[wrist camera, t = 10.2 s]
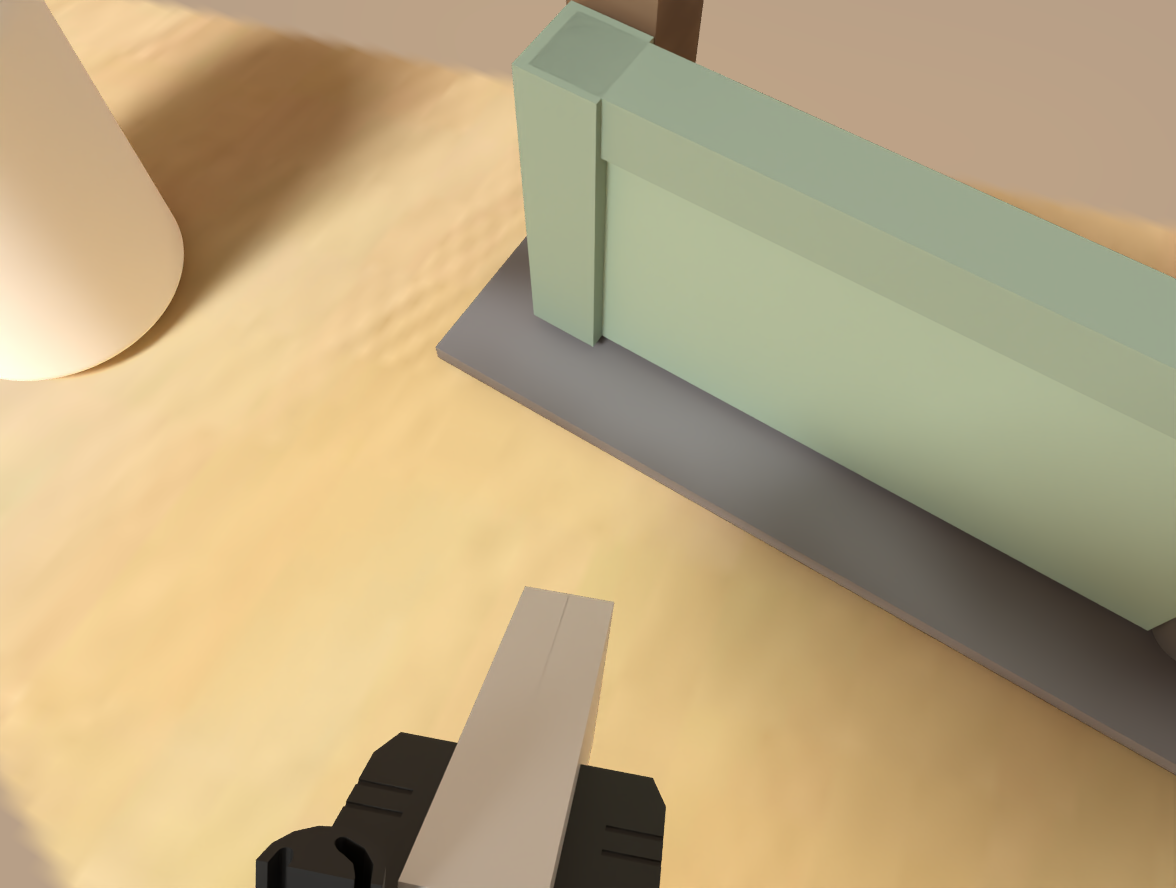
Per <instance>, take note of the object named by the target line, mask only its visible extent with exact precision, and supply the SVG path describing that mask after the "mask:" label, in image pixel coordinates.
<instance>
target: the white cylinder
mask: <svg viewBox="0 0 1176 888" xmlns="http://www.w3.org/2000/svg"><path fill="white" fill-rule="evenodd" d="M183 262H184V246H183V239H182V235H181V232H180V229H179V226H178V224H177V222H176V220H175V218H174V216H173V214H172V213H171V211H170V209H169V208H168V206H167V204H166V203H165V201H164V199H163V198H162V196H161V194H160V193H159V191H158V189H157V188H156V186H155V184H154V183H153V181H152V179H151V178H150V176H149V174H148V173H147V171H146V169H145V168H144V166H143V164H142V163H141V161H140V160H139V158H138V156H137V155H136V153H135V151H134V150H133V148H132V146H131V145H130V143H129V141H128V140H127V138H126V136H125V135H124V133H123V131H122V130H121V128H120V126H119V125H118V123H117V121H116V120H115V118H114V116H113V115H112V113H111V111H110V110H109V108H108V106H107V105H106V103H105V101H104V100H103V98H102V96H101V95H100V93H99V91H98V90H97V88H96V86H95V85H94V83H93V81H92V80H91V78H90V76H89V75H88V73H87V71H86V70H85V68H84V66H83V65H82V63H81V61H80V60H79V58H78V56H77V55H76V53H75V51H74V50H73V48H72V46H71V45H70V43H69V41H68V40H67V38H66V36H65V35H64V33H63V31H62V30H61V28H60V26H59V25H58V23H57V21H56V20H55V18H54V16H53V15H52V13H51V11H50V10H49V8H48V7H47V5H46V3H45V2H44V0H0V379H6V380H15V381H37V380H47V379H54V378H59V377H64V376H68V375H72V374H75V373H78V372H81V371H84V370H87V369H90V368H92V367H94V366H97V365H99V364H101V363H103V362H105V361H107V360H109V359H111V358H112V357H114V356H116V355H118V354H119V353H121V352H122V351H124V350H125V349H127V348H128V347H130V346H131V345H132V344H133V343H135V342H136V341H137V340H138V339H140V338H141V337H142V336H143V335H144V334H145V333H146V332H147V331H148V330H149V329H150V328H151V327H152V326H153V325H154V324H155V323H156V322H157V320H158V319H159V318H160V317H161V315H162V314H163V313H164V311H165V310H166V308H167V307H168V305H169V303H170V302H171V300H172V298H173V296H174V294H175V292H176V289H177V287H178V284H179V281H180V278H181V274H182V270H183Z"/></svg>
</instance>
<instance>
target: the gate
mask: <svg viewBox="0 0 1176 888" xmlns="http://www.w3.org/2000/svg"><path fill="white" fill-rule="evenodd" d="M653 42H654V37H653V36H650V35H648V34H646V33H644V32H641V31H639V30H637V29H635V28H632V27H630V26H628V25H626V24H623V23H621V22H619V21H617V20H615V19H612V18H610V17H608V16H606V15H603V14H601V13H599V12H597V11H594V10H592V9H590V8H588V7H585V6H583V5H581V4H579V3H576V2H574V1H572V0H571V1H570V2H569V3H568V4H567V5H566V6H565V7H564V8H563V10H562V11H561V12H560V13H559V14H558V15H557V16H556V17H555V18H554V20H552V21H551V22H550V23H549V25H548V26H547V27H546V28H545V29H544V30H543V31H542V32H541V33H540V34H539V35H538V37H536V39H535V40H534V41H533V42H532V43H531V44H530V45H529V46H528V47H527V48H526V49H525V50H524V51H523V52H522V53H521V55H520V56H519V57H518V58H517V59H516V60H515V61H514V62H513V63H512V74H513V85H514V96H515V108H516V119H517V130H518V141H519V153H520V164H521V175H522V186H523V198H524V209H525V220H526V231H527V243H528V254H529V265H530V276H531V288H532V299H533V310H534V315H536V316H537V317H539V318H541V319H543V320H545V321H547V322H548V323H550V324H552V325H554V326H556V327H558V328H559V329H561V330H563V331H565V332H567V333H569V334H570V335H572V336H574V337H576V338H578V339H580V340H581V341H583V342H585V343H587V344H589V345H590V346H592V347H594V345H595V344H596V343H597V341H598V340H599V339H600V337H601V336H604V337H606V338H608V339H610V340H611V341H613V342H615V343H617V344H619V345H621V346H622V347H624V348H626V349H628V350H630V351H632V352H634V353H635V354H637V355H639V356H641V357H643V358H645V359H646V360H648V361H650V362H652V363H654V364H656V365H658V366H659V367H661V368H663V369H665V370H667V371H669V372H671V373H672V374H674V375H676V376H678V377H680V378H682V379H683V380H685V381H687V382H689V383H691V384H693V385H695V386H696V387H698V388H700V389H702V390H704V391H706V392H707V393H709V394H711V395H713V396H715V397H717V398H719V399H720V400H722V401H724V402H726V403H728V404H730V405H731V406H733V407H735V408H737V409H739V410H741V411H743V412H744V413H746V414H748V415H750V416H752V417H754V418H755V419H757V420H759V421H761V422H763V423H765V424H767V425H768V426H770V427H772V428H774V429H776V430H778V431H780V432H781V433H783V434H785V435H787V436H789V437H791V438H792V439H794V440H796V441H798V442H800V443H802V444H804V445H805V446H807V447H809V448H811V449H813V450H815V451H816V452H818V453H820V454H822V455H824V456H826V457H828V458H829V459H831V460H833V461H835V462H837V463H839V464H840V465H842V466H844V467H846V468H848V469H850V470H852V471H853V472H855V473H857V474H859V475H861V476H863V477H864V478H866V479H868V480H870V481H872V482H874V483H876V484H877V485H879V486H881V487H883V488H885V489H887V490H889V491H890V492H892V493H894V494H896V495H898V496H900V497H901V498H903V499H905V500H907V501H909V502H911V503H913V504H914V505H916V506H918V507H920V508H922V509H924V510H925V511H927V512H929V513H931V514H933V515H935V516H937V517H938V518H940V519H942V520H944V521H946V522H948V523H949V524H951V525H953V526H955V527H957V528H959V529H961V530H962V531H964V532H966V533H968V534H970V535H972V536H974V537H975V538H977V539H979V540H981V541H983V542H985V543H986V544H988V545H990V546H992V547H994V548H996V549H998V550H999V551H1001V552H1003V553H1005V554H1007V555H1009V556H1010V557H1012V558H1014V559H1016V560H1018V561H1020V562H1022V563H1023V564H1025V565H1027V566H1029V567H1031V568H1033V569H1034V570H1036V571H1038V572H1040V573H1042V574H1044V575H1046V576H1047V577H1049V578H1051V579H1053V580H1055V581H1057V582H1058V583H1060V584H1062V585H1064V586H1066V587H1068V588H1070V589H1071V590H1073V591H1075V592H1077V593H1079V594H1081V595H1083V596H1084V597H1086V598H1088V599H1090V600H1092V601H1094V602H1095V603H1097V604H1099V605H1101V606H1103V607H1105V608H1107V609H1108V610H1110V611H1112V612H1114V613H1116V614H1118V615H1119V616H1121V617H1123V618H1125V619H1127V620H1129V621H1131V622H1132V623H1134V624H1136V625H1138V626H1140V627H1142V628H1143V629H1145V630H1147V631H1148V630H1150V629H1152V632H1153V634H1154V637H1155V639H1156V640H1157V642H1158V644H1159V645H1160V647H1161V648H1162V649H1163V650H1164V651H1165V652H1166V653H1167V654H1168V655H1169V656H1170V657H1171V658H1172V659H1174V660H1175V661H1176V279H1175V278H1173V277H1171V276H1168V275H1166V274H1164V273H1162V272H1159V271H1157V270H1155V269H1153V268H1151V267H1148V266H1146V265H1144V264H1142V263H1139V262H1137V261H1135V260H1133V259H1130V258H1128V257H1126V256H1124V255H1122V254H1119V253H1117V252H1115V251H1113V250H1110V249H1108V248H1106V247H1104V246H1102V245H1099V244H1097V243H1095V242H1093V241H1090V240H1088V239H1086V238H1084V237H1081V236H1079V235H1077V234H1075V233H1073V232H1070V231H1068V230H1066V229H1064V228H1061V227H1059V226H1057V225H1055V224H1053V223H1050V222H1048V221H1046V220H1044V219H1041V218H1039V217H1037V216H1035V215H1032V214H1030V213H1028V212H1026V211H1024V210H1021V209H1019V208H1017V207H1015V206H1012V205H1010V204H1008V203H1006V202H1004V201H1001V200H999V199H997V198H995V197H992V196H990V195H988V194H986V193H983V192H981V191H979V190H977V189H975V188H972V187H970V186H968V185H966V184H963V183H961V182H959V181H957V180H955V179H952V178H950V177H948V176H946V175H943V174H941V173H939V172H937V171H934V170H932V169H930V168H928V167H925V166H923V165H921V164H919V163H917V162H914V161H912V160H910V159H908V158H905V157H903V156H901V155H899V154H897V153H894V152H892V151H890V150H888V149H885V148H883V147H881V146H879V145H877V144H874V143H872V142H870V141H868V140H865V139H863V138H861V137H859V136H856V135H854V134H852V133H850V132H848V131H845V130H843V129H841V128H839V127H836V126H834V125H832V124H830V123H827V122H825V121H823V120H821V119H819V118H816V117H814V116H812V115H810V114H807V113H805V112H803V111H801V110H798V109H796V108H794V107H792V106H789V105H787V104H785V103H783V102H781V101H779V100H776V99H774V98H772V97H770V96H767V95H765V94H763V93H761V92H758V91H756V90H754V89H752V88H749V87H747V86H745V85H743V84H741V83H738V82H736V81H734V80H732V79H730V78H727V77H725V76H723V75H721V74H718V73H716V72H714V71H711V70H709V69H707V68H705V67H703V66H701V65H698V64H696V63H694V62H692V61H689V60H687V59H685V58H683V57H681V56H678V55H676V54H674V53H672V52H669V51H667V50H665V49H663V48H660V47H658V46H656V45H654V44H653Z"/></svg>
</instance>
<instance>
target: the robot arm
mask: <svg viewBox="0 0 1176 888" xmlns="http://www.w3.org/2000/svg"><path fill="white" fill-rule="evenodd" d="M613 606H614V602H611V601H605V600H600V599H594V598H589V597H583V596H577V595H572V594H566V593H560V592H555V591H549V590H543V589H538V588H532V587H526V586H525V588H524V590H523V593H522V595H521V597H520V599H519V602H518V604H517V606H516V609H515V611H514V613H513V616H512V618H511V620H510V623H509V625H508V627H507V630H506V632H505V634H504V637H503V639H502V641H501V644H500V646H499V648H498V650H497V653H496V655H495V657H494V660H493V662H492V664H491V667H490V669H489V671H488V674H487V676H486V678H485V681H484V683H483V685H482V688H481V690H480V692H479V695H478V697H477V699H476V702H475V704H474V706H473V708H472V711H471V713H470V715H469V718H468V720H467V722H466V725H465V727H464V729H463V732H462V734H461V736H460V739H459V741H458V743H455V742H450V741H445V740H439V739H434V738H429V737H424V736H419V735H413V734H408V733H403V732H401V733H399V734H398V735H396V736H395V737H394V738H392V739H391V740H390V741H388V742H387V743H386V744H384V745H383V746H382V747H380V748H379V749H378V750H376V751H375V752H374V753H373V754H372V756H371V758H370V760H369V762H368V763H367V765H366V767H365V769H364V771H363V772H362V774H361V776H360V778H359V781H358V784H356V785H355V787H354V788H353V790H352V792H351V794H350V795H349V797H348V799H347V801H346V805H345V807H344V806H343V808H342V810H341V812H340V813H339V815H338V817H337V819H336V820H335V822H334V824H333V826H332V827H331V826H316V827H311V828H307V829H302V830H298V831H294V832H292V833H290V834H288V835H286V836H284V837H282V838H281V839H279V840H277V841H275V842H273V843H272V844H271V845H270V846H269V847H268V848H267V849H266V850H265V851H264V852H263V853H262V854H261V855H260V856H259V857H258V858H257V859H256V888H659V886H660V873H661V861H662V848H663V836H664V823H665V811H666V806H665V804H664V802H663V799H662V797H661V795H660V793H659V791H658V788H657V786H656V784H655V782H654V780H653V778H650V777H645V776H640V775H635V774H629V773H624V772H619V771H614V770H609V769H603V768H598V767H593V766H588V763H589V758H590V753H591V748H592V743H593V738H594V731H595V725H596V718H597V712H598V705H599V698H600V692H601V685H602V679H603V672H604V665H605V659H606V652H607V646H608V639H609V632H610V626H611V619H612V613H613Z"/></svg>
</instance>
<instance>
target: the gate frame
mask: <svg viewBox="0 0 1176 888" xmlns="http://www.w3.org/2000/svg"><path fill="white" fill-rule="evenodd" d="M566 1H567V4H568V3H569V2H570V1H571V0H566ZM572 1H574V2H576V3H579V4H581V5H583V6H585V7H588V8H590V9H592V10H594V11H597V12H599V13H601V14H603V15H606V16H608V17H610V18H612V19H615V20H617V21H619V22H621V23H623V24H626V25H628V26H630V27H632V28H635V29H637V30H639V31H641V32H644V33H646V34H648V35H650V36H653V37H654V42H653V44H654V45H656V46H658V47H660V48H663V49H665V50H667V51H669V52H672V53H674V54H676V55H678V56H681V57H683V58H685V59H687V60H689V61H692V62H694V63H695V61H696V54H697V46H698V39H699V31H700V23H701V16H702V8H703V0H572ZM436 351H437V354H438V357H439V358H441V359H442V360H444V361H446V362H448V363H450V364H451V365H453V366H455V367H457V368H458V369H460V370H462V371H464V372H465V373H467V374H469V375H471V376H472V377H474V378H476V379H478V380H480V381H481V382H483V383H485V384H487V385H488V386H490V387H492V388H494V389H495V390H497V391H499V392H501V393H502V394H504V395H506V396H508V397H510V398H511V399H513V400H515V401H517V402H518V403H520V404H522V405H524V406H525V407H527V408H529V409H531V410H532V411H534V412H536V413H538V414H540V415H541V416H543V417H545V418H547V419H548V420H550V421H552V422H554V423H555V424H557V425H559V426H561V427H562V428H564V429H566V430H568V431H570V432H571V433H573V434H575V435H577V436H578V437H580V438H582V439H584V440H585V441H587V442H589V443H591V444H592V445H594V446H596V447H598V448H600V449H601V450H603V451H605V452H607V453H608V454H610V455H612V456H614V457H615V458H617V459H619V460H621V461H623V462H624V463H626V464H628V465H630V466H631V467H633V468H635V469H637V470H638V471H640V472H642V473H644V474H645V475H647V476H649V477H651V478H653V479H654V480H656V481H658V482H660V483H661V484H663V485H665V486H667V487H668V488H670V489H672V490H674V491H675V492H677V493H679V494H681V495H683V496H684V497H686V498H688V499H690V500H691V501H693V502H695V503H697V504H698V505H700V506H702V507H704V508H705V509H707V510H709V511H711V512H713V513H714V514H716V515H718V516H720V517H721V518H723V519H725V520H727V521H728V522H730V523H732V524H734V525H735V526H737V527H739V528H741V529H743V530H744V531H746V532H748V533H750V534H751V535H753V536H755V537H757V538H758V539H760V540H762V541H764V542H765V543H767V544H769V545H771V546H773V547H774V548H776V549H778V550H780V551H781V552H783V553H785V554H787V555H788V556H790V557H792V558H794V559H795V560H797V561H799V562H801V563H803V564H804V565H806V566H808V567H810V568H811V569H813V570H815V571H817V572H818V573H820V574H822V575H824V576H825V577H827V578H829V579H831V580H833V581H834V582H836V583H838V584H840V585H841V586H843V587H845V588H847V589H848V590H850V591H852V592H854V593H855V594H857V595H859V596H861V597H863V598H864V599H866V600H868V601H870V602H871V603H873V604H875V605H877V606H878V607H880V608H882V609H884V610H885V611H887V612H889V613H891V614H893V615H894V616H896V617H898V618H900V619H901V620H903V621H905V622H907V623H908V624H910V625H912V626H914V627H916V628H917V629H919V630H921V631H923V632H924V633H926V634H928V635H930V636H931V637H933V638H935V639H937V640H938V641H940V642H942V643H944V644H946V645H947V646H949V647H951V648H953V649H954V650H956V651H958V652H960V653H961V654H963V655H965V656H967V657H968V658H970V659H972V660H974V661H976V662H977V663H979V664H981V665H983V666H984V667H986V668H988V669H990V670H991V671H993V672H995V673H997V674H998V675H1000V676H1002V677H1004V678H1006V679H1007V680H1009V681H1011V682H1013V683H1014V684H1016V685H1018V686H1020V687H1021V688H1023V689H1025V690H1027V691H1028V692H1030V693H1032V694H1034V695H1036V696H1037V697H1039V698H1041V699H1043V700H1044V701H1046V702H1048V703H1050V704H1051V705H1053V706H1055V707H1057V708H1058V709H1060V710H1062V711H1064V712H1066V713H1067V714H1069V715H1071V716H1073V717H1074V718H1076V719H1078V720H1080V721H1081V722H1083V723H1085V724H1087V725H1088V726H1090V727H1092V728H1094V729H1096V730H1097V731H1099V732H1101V733H1103V734H1104V735H1106V736H1108V737H1110V738H1111V739H1113V740H1115V741H1117V742H1118V743H1120V744H1122V745H1124V746H1126V747H1127V748H1129V749H1131V750H1133V751H1134V752H1136V753H1138V754H1140V755H1141V756H1143V757H1145V758H1147V759H1148V760H1150V761H1152V762H1154V763H1156V764H1157V765H1159V766H1161V767H1163V768H1164V769H1166V770H1168V771H1170V772H1171V773H1173V774H1175V775H1176V661H1175V660H1174V659H1172V658H1171V657H1170V656H1169V655H1168V654H1167V653H1166V652H1165V651H1164V650H1163V649H1162V648H1161V647H1160V645H1159V644H1158V642H1157V640H1156V639H1155V637H1154V634H1153V632H1152V629H1150V630H1148V631H1147V630H1145V629H1143V628H1142V627H1140V626H1138V625H1136V624H1134V623H1132V622H1131V621H1129V620H1127V619H1125V618H1123V617H1121V616H1119V615H1118V614H1116V613H1114V612H1112V611H1110V610H1108V609H1107V608H1105V607H1103V606H1101V605H1099V604H1097V603H1095V602H1094V601H1092V600H1090V599H1088V598H1086V597H1084V596H1083V595H1081V594H1079V593H1077V592H1075V591H1073V590H1071V589H1070V588H1068V587H1066V586H1064V585H1062V584H1060V583H1058V582H1057V581H1055V580H1053V579H1051V578H1049V577H1047V576H1046V575H1044V574H1042V573H1040V572H1038V571H1036V570H1034V569H1033V568H1031V567H1029V566H1027V565H1025V564H1023V563H1022V562H1020V561H1018V560H1016V559H1014V558H1012V557H1010V556H1009V555H1007V554H1005V553H1003V552H1001V551H999V550H998V549H996V548H994V547H992V546H990V545H988V544H986V543H985V542H983V541H981V540H979V539H977V538H975V537H974V536H972V535H970V534H968V533H966V532H964V531H962V530H961V529H959V528H957V527H955V526H953V525H951V524H949V523H948V522H946V521H944V520H942V519H940V518H938V517H937V516H935V515H933V514H931V513H929V512H927V511H925V510H924V509H922V508H920V507H918V506H916V505H914V504H913V503H911V502H909V501H907V500H905V499H903V498H901V497H900V496H898V495H896V494H894V493H892V492H890V491H889V490H887V489H885V488H883V487H881V486H879V485H877V484H876V483H874V482H872V481H870V480H868V479H866V478H864V477H863V476H861V475H859V474H857V473H855V472H853V471H852V470H850V469H848V468H846V467H844V466H842V465H840V464H839V463H837V462H835V461H833V460H831V459H829V458H828V457H826V456H824V455H822V454H820V453H818V452H816V451H815V450H813V449H811V448H809V447H807V446H805V445H804V444H802V443H800V442H798V441H796V440H794V439H792V438H791V437H789V436H787V435H785V434H783V433H781V432H780V431H778V430H776V429H774V428H772V427H770V426H768V425H767V424H765V423H763V422H761V421H759V420H757V419H755V418H754V417H752V416H750V415H748V414H746V413H744V412H743V411H741V410H739V409H737V408H735V407H733V406H731V405H730V404H728V403H726V402H724V401H722V400H720V399H719V398H717V397H715V396H713V395H711V394H709V393H707V392H706V391H704V390H702V389H700V388H698V387H696V386H695V385H693V384H691V383H689V382H687V381H685V380H683V379H682V378H680V377H678V376H676V375H674V374H672V373H671V372H669V371H667V370H665V369H663V368H661V367H659V366H658V365H656V364H654V363H652V362H650V361H648V360H646V359H645V358H643V357H641V356H639V355H637V354H635V353H634V352H632V351H630V350H628V349H626V348H624V347H622V346H621V345H619V344H617V343H615V342H613V341H611V340H610V339H608V338H606V337H604V336H601V337H600V339H599V340H598V341H597V343H596V344H595V345H594V347H592V346H590V345H589V344H587V343H585V342H583V341H581V340H580V339H578V338H576V337H574V336H572V335H570V334H569V333H567V332H565V331H563V330H561V329H559V328H558V327H556V326H554V325H552V324H550V323H548V322H547V321H545V320H543V319H541V318H539V317H537V316H536V315H534V310H533V299H532V288H531V276H530V265H529V254H528V243H527V236H526V237H525V239H524V240H523V241H522V242H521V244H520V245H519V246H518V247H517V248H516V250H515V251H514V252H513V253H512V254H511V256H510V257H509V258H508V259H507V261H506V262H505V263H504V264H503V265H502V267H501V268H500V269H499V270H498V272H497V273H496V274H495V275H494V276H493V278H492V279H491V280H490V281H489V283H488V284H487V285H486V286H485V287H484V289H483V290H482V291H481V292H480V293H479V295H478V296H477V297H476V298H475V300H474V301H473V302H472V303H471V304H470V306H469V307H468V308H467V309H466V311H465V312H464V313H463V314H462V315H461V317H460V318H459V319H458V320H457V322H456V323H455V324H454V325H453V326H452V328H451V329H450V330H449V331H448V332H447V334H446V335H445V336H444V337H443V339H442V340H441V341H440V342H439V343H438V345H437V346H436Z"/></svg>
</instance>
